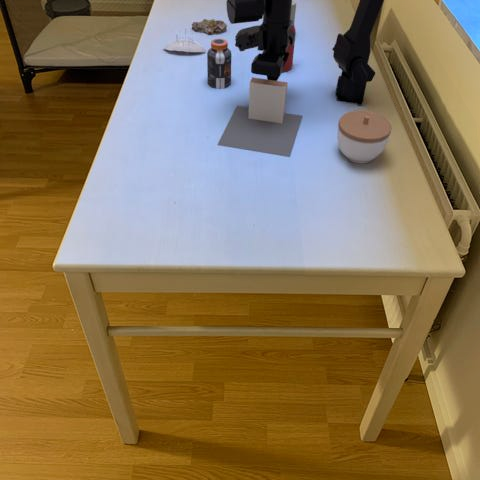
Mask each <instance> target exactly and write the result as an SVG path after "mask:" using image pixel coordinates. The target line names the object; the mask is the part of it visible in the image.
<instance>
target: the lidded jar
mask: <svg viewBox="0 0 480 480" xmlns="http://www.w3.org/2000/svg"><path fill="white" fill-rule="evenodd" d="M392 128H393V127H392V124H391V122H390V121H389V120H388V119H387V118H386V117H385V116H383V115H381V114H379V113H376V112H373V111H370V110H352V111H348V112H345V113H344V114H343V115H341V116H340V118H339V120H338V127H337V135H336V137H337V145H338V148H339V150H340V152H341V153H342V154H343V155H344V156H345V157H346V158H347V160H348V161H350V162H352V163H355V164H367V163H369V162H371V161H372V160H374V159H376V158H377V157H378V156H380V155H381V154H382V152H383V151H384V149H385V148H386V147H387V144H388V142H389V141H388V140H389V138H390V135H391V133H392Z"/></svg>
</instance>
